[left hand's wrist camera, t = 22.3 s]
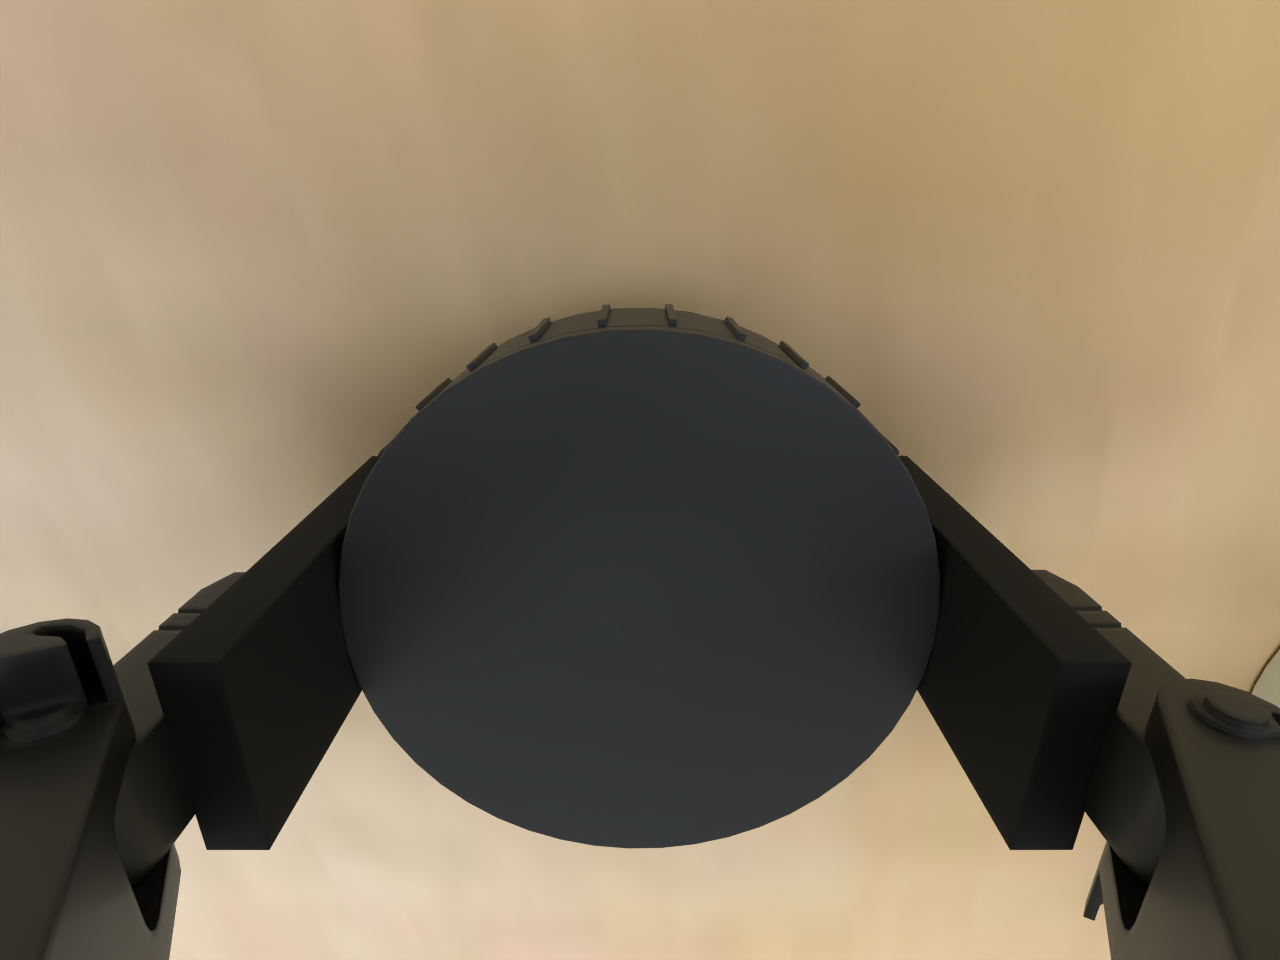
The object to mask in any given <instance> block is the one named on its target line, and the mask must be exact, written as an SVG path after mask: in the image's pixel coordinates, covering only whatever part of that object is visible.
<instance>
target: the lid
mask: <svg viewBox="0 0 1280 960" xmlns="http://www.w3.org/2000/svg"><path fill="white" fill-rule="evenodd" d="M808 365H809V364H808V363H807V362H806V361H805V360H804V359H803V358H802V357H801V356H800V355H799V354H797V353H796V352H795V351H794V350H793V349H792V348H791V347H790V346H789V345H788V344H786V343H785V342H783V341H781V342H780V344H779V345H777V344H775V343H774V342H772V341H770V340H768V339H767V338H765V337H763V336H761V335H759V334H756V333H754V332H752V331H749V330H747V329H744V328H742V327H739V326H738V324H737V323H736V322H735V321H734V320H733V319H732V318H730V317H726V318H725V321H723V320H719V319H715V318H711V317H707V316H703V315H699V314H695V313H691V312H684V311H675V310H674V309H673V306H672V305H668V304H666V305H665V309H657V308H627V309H610V305H603V307H602V310H601V311H597V312H591V313H584V314H578V315H574V316H571V317H568V318H564V319H561V320H557V321H554V322H551V320H550V318H546V319H543V320H542V322H541V323H540V324H539V325H538V326H537V327H536V328H534V329H532V330H530V331H528V332H526V333H523V334H521V335H519V336H517V337H514V338H512V339H510V340H508V341H506V342H505V343H503V344H502V345H500V346H499V347H497V345H496V344H495V343H493V344H491V345H490V346H488V347H487V348H486V349H485V350H484V351H483V352H482V353H481V354H479V355H478V356H477V357H476V358H475V359H474V360H473V361H472V362H471V363H469V364H468V365H467V369H466V370H465V371H464V372H463V373H462V374H460V375H459V376H458V377H457V378H456V379H455V380H453V381H451V380H450V379H449V378H448V379H446V380H445V381H444V382H443V383H442V384H441V385H439V386H438V387H437V388H436V389H435V390H434V391H433V392H431V393H430V394H429V395H428V396H427V397H426V398H425V399H423V400H422V401H421V402H420V403H419V404H418V405H417V406H416V408H417V409H418V410H419V412H418V413H417V414H416V415H415V416H414V417H413V418H412V419H411V420H410V421H409V422H408V423H407V424H406V426H405V427H404V428H403V429H402V430H401V431H400V432H399V434H398V435H397V436H396V437H395V438H394V439H393V440H392V441H391V442H390V443H389V444H388V445H386V446H385V447H384V448H383V449H382V450H381V451H380V453H379V454H378V457H380V458H379V460H378V461H377V463H376V464H375V466H374V468H373V469H372V471H371V472H370V474H369V475H368V477H367V479H366V480H365V482H364V485H363V487H362V489H361V492H360V494H359V496H358V498H357V501H356V503H355V505H354V508H353V510H352V512H351V515H350V518H349V522H348V526H347V530H346V534H345V538H344V542H343V545H342V550H341V560H340V570H339V581H338V590H339V608H340V617H341V623H342V628H343V633H344V638H345V644H346V649H347V653H348V656H349V658H350V661H351V664H352V667H353V669H354V672H355V675H356V677H357V680H358V683H359V685H360V687H361V688H362V690H363V692H364V694H365V696H366V698H367V700H368V702H369V703H370V705H371V707H372V709H373V711H374V713H375V714H376V715H377V717H378V718H379V719H380V721H381V722H382V724H383V725H384V726H385V728H386V729H387V731H388V732H389V733H390V735H391V736H392V738H393V739H394V740H395V741H396V742H397V743H398V744H399V745H400V746H401V747H402V749H403V750H404V751H405V752H406V753H407V754H408V755H409V756H410V757H411V758H412V759H413V760H414V761H415V763H417V764H418V765H419V766H420V767H421V768H422V769H424V770H425V771H426V772H427V773H428V774H430V775H431V776H432V777H433V778H434V779H435V780H437V781H438V782H439V783H440V784H441V785H443V786H444V787H446V788H447V789H449V790H450V791H452V792H453V793H455V794H456V795H458V796H459V797H461V798H462V799H464V800H465V801H467V802H468V803H470V804H472V805H474V806H476V807H478V808H480V809H482V810H484V811H485V812H487V813H489V814H491V815H493V816H495V817H497V818H499V819H502V820H504V821H507V822H509V823H512V824H514V825H517V826H519V827H522V828H524V829H527V830H529V831H533V832H537V833H540V834H544V835H547V836H551V837H554V838H558V839H561V840H567V841H572V842H578V843H583V844H589V845H594V846H607V847H619V848H664V847H673V846H682V845H691V844H697V843H702V842H707V841H712V840H717V839H721V838H726V837H730V836H733V835H736V834H739V833H742V832H746V831H749V830H752V829H755V828H758V827H761V826H763V825H765V824H768V823H770V822H772V821H775V820H777V819H779V818H782V817H784V816H786V815H789V814H791V813H792V812H794V811H796V810H798V809H800V808H801V807H803V806H805V805H807V804H808V803H810V802H812V801H814V800H816V799H817V798H819V797H820V796H822V795H823V794H825V793H826V792H827V791H829V790H830V789H832V788H833V787H834V786H836V785H837V784H839V783H840V782H841V781H843V780H844V779H846V778H847V777H848V776H849V775H850V774H851V773H852V772H853V771H854V770H855V769H857V768H858V767H859V766H860V765H861V764H862V763H863V762H864V761H865V760H867V759H868V758H869V757H870V756H871V755H872V753H873V752H874V751H875V750H876V749H877V748H878V747H879V745H880V744H881V743H882V742H883V741H884V740H885V738H886V737H887V736H888V735H889V734H890V733H891V732H892V730H893V729H894V727H895V726H896V724H897V723H898V721H899V720H900V718H901V716H902V715H903V713H904V712H905V710H906V709H907V707H908V706H909V704H910V703H911V701H912V698H913V696H914V694H915V692H916V690H917V688H918V686H919V684H920V682H921V680H922V678H923V676H924V673H925V670H926V667H927V664H928V661H929V658H930V655H931V652H932V649H933V646H934V641H935V636H936V630H937V624H938V618H939V612H940V568H939V561H938V554H937V547H936V540H935V536H934V533H933V530H932V527H931V523H930V520H929V517H928V514H927V510H926V507H925V504H924V502H923V500H922V498H921V496H920V494H919V492H918V490H917V488H916V486H915V484H914V482H913V480H912V478H911V476H910V474H909V472H908V470H907V468H906V467H905V466H904V464H903V463H902V461H901V460H900V458H899V457H898V456H897V454H899V451H898V450H897V448H896V447H895V446H894V445H893V444H892V443H891V442H889V441H888V440H887V439H886V438H885V437H884V436H883V435H882V434H881V433H880V432H879V431H878V430H877V429H876V428H875V427H874V426H873V425H872V424H871V423H870V422H869V421H868V420H867V419H866V418H865V417H864V416H863V414H862V413H861V412H860V411H859V410H858V409H857V408H858V407H859V406H860V405H861V404H860V403H859V402H858V401H857V400H856V399H855V398H853V397H852V396H851V395H850V394H849V393H848V392H847V391H845V390H844V389H843V388H842V387H841V386H840V385H839V384H838V383H836V382H835V381H834V380H833V379H832V378H831V377H830V376H827V377H826V378H825V379H824V378H823V377H822V376H821V375H819V374H818V373H817V372H816V371H814V370H813V369H812V368H810V367H809V366H808Z"/></svg>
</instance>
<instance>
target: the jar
mask: <svg viewBox="0 0 1280 960" xmlns="http://www.w3.org/2000/svg"><path fill="white" fill-rule="evenodd" d="M1251 694H1253V695H1255V696H1257V697H1259V698H1261V699H1263V700H1265V701H1268V702H1270V703H1272V704H1274V705H1276V706H1277V707H1279V708H1280V649H1279V650H1278V652H1277V653H1276V654H1275V656H1274V657H1273V658H1272V659H1271V661H1270V662H1269V663H1268V665H1267V666H1266V667H1265V669H1264V671H1263V673H1262V674H1261V676H1260V678H1259V679H1258V681H1257V683H1256V685H1255V686H1254V689H1253V691H1252V693H1251Z"/></svg>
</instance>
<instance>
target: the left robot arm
mask: <svg viewBox="0 0 1280 960" xmlns="http://www.w3.org/2000/svg"><path fill="white" fill-rule="evenodd" d="M898 457H899V458H900V460H901V461H902V463H903V464H904V466H905V467H906V468H907V470H908V472H909V474H910V476H911V478H912V480H913V482H914V484H915V486H916V488H917V490H918V492H919V494H920V496H921V498H922V500H923V502H924V504H925V507H926V510H927V514H928V517H929V520H930V523H931V527H932V530H933V533H934V536H935V540H936V547H937V554H938V561H939V568H940V612H939V618H938V624H937V630H936V636H935V641H934V646H933V649H932V652H931V655H930V658H929V661H928V664H927V667H926V670H925V673H924V676H923V678H922V680H921V682H920V684H919V686H918V688H917V690H918V692H919V694H920V695H921V697H922V699H923V701H924V702H925V704H926V706H927V708H928V709H929V711H930V713H931V714H932V716H933V718H934V720H935V721H936V723H937V725H938V726H939V728H940V730H941V732H942V733H943V735H944V737H945V739H946V740H947V742H948V744H949V745H950V747H951V749H952V751H953V752H954V754H955V756H956V757H957V759H958V761H959V763H960V764H961V766H962V768H963V770H964V771H965V773H966V775H967V776H968V778H969V780H970V782H971V783H972V785H973V787H974V789H975V790H976V792H977V794H978V795H979V797H980V799H981V801H982V802H983V804H984V806H985V807H986V809H987V811H988V813H989V814H990V816H991V818H992V820H993V821H994V823H995V825H996V826H997V828H998V830H999V832H1000V833H1001V835H1002V837H1003V838H1004V840H1005V842H1006V844H1007V845H1008V847H1009V849H1010V850H1073V847H1074V843H1075V840H1076V837H1077V834H1078V831H1079V828H1080V825H1081V821H1082V818H1083V815H1084V812H1086V813H1087V815H1088V816H1089V818H1090V819H1091V820H1092V822H1093V823H1094V824H1095V826H1096V827H1097V828H1098V830H1099V831H1100V832H1101V834H1102V835H1103V836H1104V838H1105V839H1106V840H1107V842H1106V845H1105V848H1104V851H1103V854H1102V857H1101V860H1100V863H1099V865H1098V868H1097V871H1096V874H1095V877H1094V880H1093V883H1092V886H1091V889H1090V892H1089V895H1088V898H1087V900H1086V905H1085V910H1084V916H1083V917H1086V918H1089V919H1091V920H1095V917H1096V914H1097V912H1098V909H1099V906H1100V905H1101V904H1103V903H1104V910H1105V917H1106V924H1107V931H1108V939H1109V946H1110V953H1111V960H1280V708H1279V707H1277V706H1276V705H1274V704H1272V703H1270V702H1268V701H1265V700H1263V699H1261V698H1259V697H1257V696H1255V695H1253V694H1251V693H1248V692H1246V691H1243V690H1240V689H1237V688H1233V687H1230V686H1227V685H1224V684H1221V683H1217V682H1211V681H1204V680H1197V679H1185V678H1184V677H1183V676H1182V675H1181V674H1179V673H1178V672H1177V671H1176V670H1175V669H1174V668H1172V667H1171V666H1170V665H1169V664H1168V663H1167V662H1165V661H1164V660H1163V659H1162V658H1161V657H1160V656H1158V655H1157V654H1156V653H1155V652H1154V651H1153V650H1151V649H1150V648H1149V647H1148V646H1147V645H1146V644H1144V643H1143V642H1142V641H1141V640H1140V639H1139V638H1137V637H1136V636H1135V635H1134V634H1133V633H1132V632H1130V631H1129V630H1128V629H1127V628H1122V627H1121V623H1120V622H1119V621H1118V620H1116V619H1115V618H1114V617H1113V616H1112V615H1111V614H1109V613H1108V612H1107V611H1102V607H1101V606H1100V605H1099V604H1098V603H1097V602H1095V601H1094V600H1093V599H1092V598H1091V597H1090V596H1088V595H1087V594H1086V593H1085V592H1084V591H1083V590H1081V589H1080V588H1079V587H1078V586H1076V585H1074V584H1072V583H1070V582H1068V581H1066V580H1064V579H1062V578H1060V577H1058V576H1056V575H1054V574H1052V573H1050V572H1048V571H1046V570H1030V569H1029V568H1028V567H1027V566H1026V565H1025V564H1024V563H1023V562H1022V561H1021V560H1020V559H1018V558H1017V557H1016V556H1015V555H1014V554H1013V553H1012V552H1011V551H1010V550H1009V549H1008V548H1006V547H1005V546H1004V545H1003V544H1002V543H1001V542H1000V541H999V540H998V539H997V538H996V537H994V536H993V535H992V534H991V533H990V532H989V531H988V530H987V529H986V528H985V527H984V526H982V525H981V524H980V523H979V522H978V521H977V520H976V519H975V518H974V517H973V516H972V515H971V514H969V513H968V512H967V511H966V510H965V509H964V508H963V507H962V506H961V505H960V504H959V503H957V502H956V501H955V500H954V499H953V498H952V497H951V496H950V495H949V494H948V493H947V492H945V491H944V490H943V489H942V488H941V487H940V486H939V485H938V484H937V483H936V482H935V481H933V480H932V479H931V478H930V477H929V476H928V475H927V474H926V473H925V472H924V471H923V470H921V469H920V468H919V467H918V466H917V465H916V464H915V463H914V462H913V461H912V460H911V459H909V458H908V457H907V456H898ZM379 458H380V457H378V456H372V457H371V458H370V459H369V460H368V461H367V462H366V463H365V464H363V465H362V466H361V467H360V468H359V469H358V470H357V471H356V472H355V473H354V474H353V475H351V476H350V477H349V478H348V479H347V480H346V481H345V482H344V483H343V484H342V485H341V486H339V487H338V488H337V489H336V490H335V491H334V492H333V493H332V494H331V495H330V496H329V497H327V498H326V499H325V500H324V501H323V502H322V503H321V504H320V505H319V506H318V507H317V508H315V509H314V510H313V511H312V512H311V513H310V514H309V515H308V516H307V517H306V518H305V519H303V520H302V521H301V522H300V523H299V524H298V525H297V526H296V527H295V528H294V529H293V530H291V531H290V532H289V533H288V534H287V535H286V536H285V537H284V538H283V539H282V540H281V541H279V542H278V543H277V544H276V545H275V546H274V547H273V548H272V549H271V550H270V551H269V552H267V553H266V554H265V555H264V556H263V557H262V558H261V559H260V560H259V561H258V562H257V563H255V564H254V565H253V566H252V567H251V568H250V569H249V570H248V571H247V572H234V573H232V574H230V575H228V576H227V577H225V578H223V579H221V580H219V581H217V582H215V583H213V584H211V585H209V586H207V587H205V588H203V589H201V590H200V591H199V592H198V593H197V594H196V595H195V596H193V597H192V598H191V599H190V600H189V601H188V602H186V603H185V604H184V605H183V606H182V607H181V608H179V609H178V613H174V614H173V615H171V616H170V617H169V618H168V619H167V620H166V621H164V622H163V623H162V624H161V625H160V626H159V630H158V631H153V632H152V633H151V634H149V635H148V636H147V637H146V638H145V639H144V640H142V641H141V642H140V643H139V644H138V645H137V646H135V647H134V648H133V649H132V650H131V651H130V652H129V653H127V654H126V655H125V656H124V657H123V658H122V659H120V660H119V661H118V662H117V663H116V664H115V665H113V664H112V661H111V658H110V655H109V652H108V649H107V646H106V644H105V641H104V638H103V635H102V632H101V629H100V627H99V626H98V625H96V624H94V623H92V622H90V621H89V620H80V619H60V620H52V621H44V622H38V623H34V624H30V625H27V626H23V627H19V628H15V629H12V630H8V631H6V632H3V633H1V634H0V960H169V956H170V948H171V941H172V934H173V927H174V919H175V912H176V905H177V897H178V890H179V883H180V876H181V868H180V862H179V857H178V854H177V851H176V848H175V845H174V842H175V841H176V839H177V838H178V837H179V835H180V834H181V833H182V831H183V830H184V829H185V827H186V826H187V825H188V823H189V822H190V820H191V819H192V818H193V816H194V815H195V814H196V817H197V820H198V824H199V827H200V830H201V833H202V836H203V839H204V842H205V845H206V849H207V850H270V848H271V846H272V844H273V843H274V841H275V839H276V837H277V836H278V834H279V832H280V831H281V829H282V827H283V825H284V824H285V822H286V820H287V819H288V817H289V815H290V813H291V812H292V810H293V808H294V806H295V805H296V803H297V801H298V800H299V798H300V796H301V794H302V793H303V791H304V789H305V788H306V786H307V784H308V782H309V781H310V779H311V777H312V775H313V774H314V772H315V770H316V769H317V767H318V765H319V763H320V762H321V760H322V758H323V757H324V755H325V753H326V751H327V750H328V748H329V746H330V744H331V743H332V741H333V739H334V738H335V736H336V734H337V732H338V731H339V729H340V727H341V726H342V724H343V722H344V720H345V719H346V717H347V715H348V713H349V712H350V710H351V708H352V707H353V705H354V703H355V701H356V700H357V698H358V696H359V695H360V693H361V691H362V688H361V687H360V685H359V683H358V680H357V677H356V675H355V672H354V669H353V667H352V664H351V661H350V658H349V656H348V653H347V649H346V644H345V638H344V633H343V628H342V623H341V617H340V608H339V590H338V581H339V570H340V560H341V550H342V545H343V542H344V538H345V534H346V530H347V526H348V522H349V518H350V515H351V512H352V510H353V508H354V505H355V503H356V501H357V498H358V496H359V494H360V492H361V489H362V487H363V485H364V482H365V480H366V479H367V477H368V475H369V474H370V472H371V471H372V469H373V468H374V466H375V464H376V463H377V461H378V460H379Z"/></svg>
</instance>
